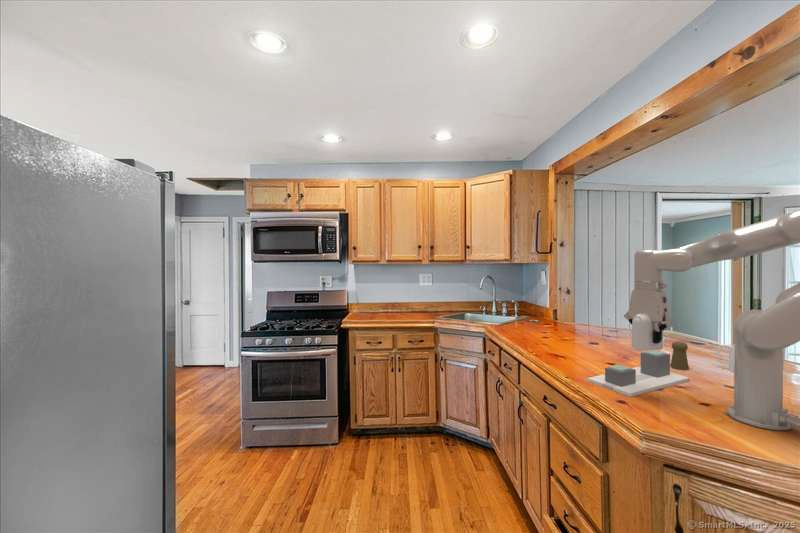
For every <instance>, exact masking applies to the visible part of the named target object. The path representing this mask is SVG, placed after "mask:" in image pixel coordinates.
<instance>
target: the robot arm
mask: <svg viewBox="0 0 800 533" xmlns="http://www.w3.org/2000/svg"><path fill="white" fill-rule="evenodd" d="M798 244H800V209H798V210H794V211H792V212H788V213H784V214H782V215H781V214H780V215H778V216H775V217H771V218H769V219H768V218H767V219H765V220H762V221H757V222H755V223H752V224H748V225H744V226H740V227H738V228H734V229H731V230H728V231H725V232H722V233H719V234H718V235H715V236H713V237H711V238H707V239H704V240H701V241H698V242H693V243H690V244H687V245H684V246H680V247H676V248H669V249H638V250H636V251H635V252H634V260H633V262H634V265H633V266H634V267H633V269H634V272H633V273H634V275H633V290H631V293H630V298H629V306H628V308H629V309H628V310H627V312H626V313H625V314H623V317H624V318H625V319H626V320H627V321H628V322H629V324H631V325H632V319H633V317H634V316H636V315H638V314H640V313H641V314H646V315H647V316H648V317H649V318H650V321H651V322H653V324H654V328H655V331H653V343H655V344H657V343H660V342H661V341H662V331H663V332H664V330H666V329H667V328H669V327H670V326H672V325H674V324H675V321H674V320H673V319H672V317H671V316H670V309H669V302H668V297H667V293H666V291H663V290H664V289H667V288H668V285H667V284H666V283H665V284H664V282H663V271H664V272H672V273H683V272H686V271H688V270H690V269H692V268H696V267H700V266H703V265H708V264H713V263H718V262H722V261H723V262H724V261H731V260H738V259H741V258H742V259H743V258H747V257H751V256H754V255H757V254H758V255H759V254H762V253H767V252H770V251H775V250H778V249H782V248H786V247H791V246H794V245H798ZM662 321H663V324H662ZM732 328H733V330H732V331H733V341H734V342H733V345H734V346H735V362H734V373H733V374H734V376H733V378H734V380H733V405H732V406H729V407H726V414H727V415H728V416H729V417H730V418H732V419H734V420H736V421H738V422H741V423H744V424H746V425H749V426H753V427H756V428H761V429H766V430H771V431H788V430H790V429H791V428H792V426H793V427H796V428H799V429H800V418H799V417H798V416H797V417H796V416H792V415H790V414H789V413H788V409H787V408H785V407H783V406H784V404H783V403H784V402H783V400H784V395H783V394H784V393H783V392H784V365H785V364H784V363H785V362H784V361H785V360H784V349H786V348H788V347H791V346H793V345H795V344H798V343H799V342H800V282H798V283H796V284H795V285H793V286H791V287H789V288H786V289H785V290H782V292H780V293H779V294H778V295H777V297H776V299H775V304H773V305H771V306H770V307H768V308H766V309H765V310H761V309H749V310H748V309H747V310H745V311H742V312H740V314H738V315H737V316H736V317H735V318H734V321H733V326H732Z"/></svg>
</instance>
